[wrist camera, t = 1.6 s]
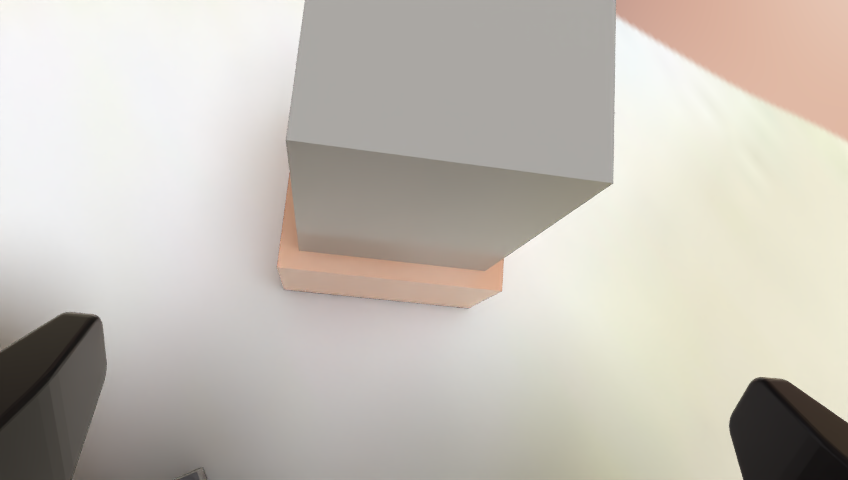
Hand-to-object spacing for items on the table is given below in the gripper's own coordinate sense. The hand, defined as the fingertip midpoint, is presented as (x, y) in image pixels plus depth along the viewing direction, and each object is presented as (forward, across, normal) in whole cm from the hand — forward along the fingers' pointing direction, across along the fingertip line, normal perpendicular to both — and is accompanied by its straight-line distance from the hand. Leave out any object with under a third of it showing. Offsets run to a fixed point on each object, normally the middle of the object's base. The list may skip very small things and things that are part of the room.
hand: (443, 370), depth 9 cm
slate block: (+10, 0, +2) cm, 10 cm away
